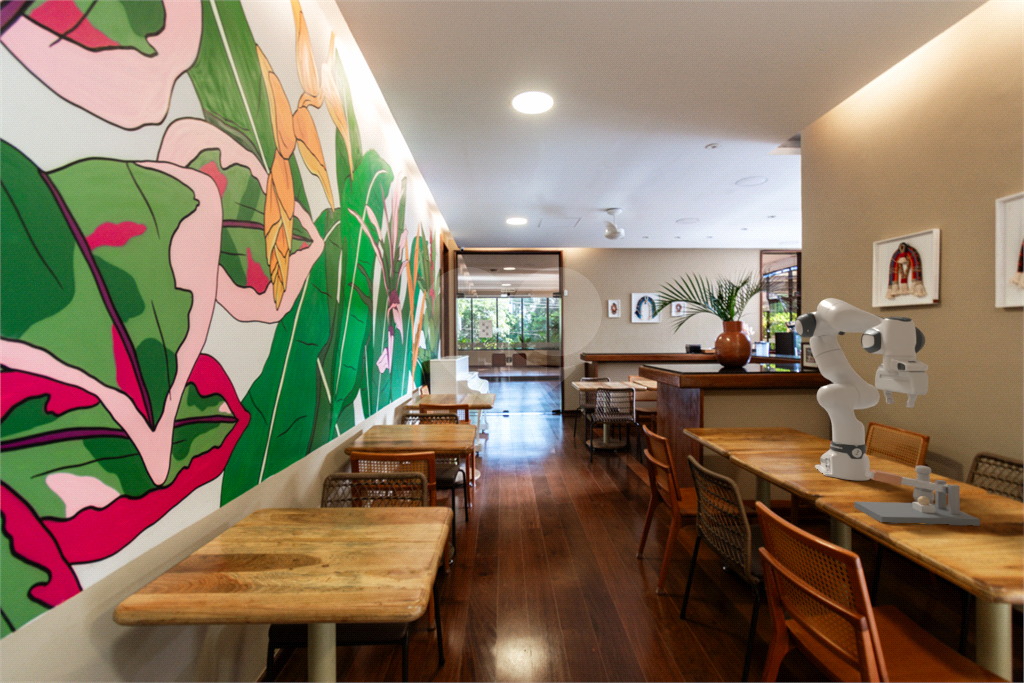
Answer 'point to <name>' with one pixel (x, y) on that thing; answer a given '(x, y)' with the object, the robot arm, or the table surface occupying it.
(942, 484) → the lever
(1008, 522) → the table surface
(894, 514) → the base
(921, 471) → the salt shaker
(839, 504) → the table surface
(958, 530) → the table surface
